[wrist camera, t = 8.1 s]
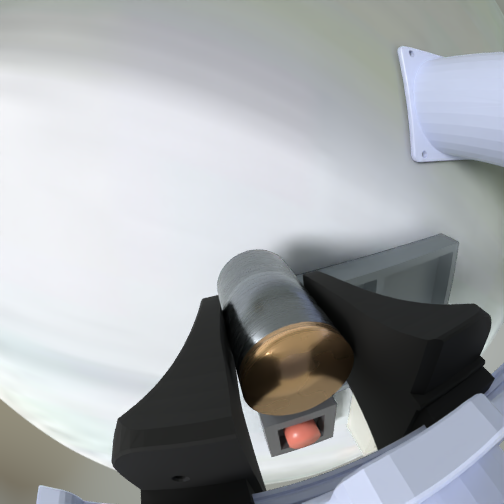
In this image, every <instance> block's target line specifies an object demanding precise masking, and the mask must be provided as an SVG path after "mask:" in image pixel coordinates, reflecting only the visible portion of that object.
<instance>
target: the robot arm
mask: <svg viewBox="0 0 504 504" xmlns="http://www.w3.org/2000/svg"><path fill="white" fill-rule="evenodd" d="M409 53H410V54H409ZM410 55H411V56H410ZM398 56H399V61H400V66H401V71H402V76H403V82H404V89H405V95H406V102H407V110H408V119H409V129H410V142H411V156H412V159H413V160H414V161H416V162H430V161H445V160H466V159H472V160H477V161H482V162H486V163H490V164H494V165H498V166H502V167H504V52H489V53H476V54H466V55H458V56H450V57H442V56H439V55H436V54H432V53H429V52H425V51H422V50H418V49H414V48H411V47H406V46H401V47H399V48H398ZM422 153H423V156H422ZM303 284H304V287H305V288H306V289H307V291H308V292H309V293H310V295H311V296H312V297H313V298H314V300H315V301H316V302H317V304H318V305H319V306H320V307H321V309H322V310H323V311H324V313H325V314H326V315H327V316H328V318H329V319H330V320H331V322H332V323H333V324H334V326H335V327H336V328H337V330H338V331H339V332H340V333H341V335H342V336H343V337H344V339H345V340H346V341H347V343H348V344H349V345H350V347H351V348H352V351H353V355H354V363H353V368H352V370H351V373H350V375H349V377H348V378H347V380H346V381H347V383H348V385H349V387H350V389H351V390H352V392H353V394H354V396H355V398H356V400H357V403H358V405H359V407H360V409H361V411H362V413H363V415H364V418H365V420H366V422H367V424H368V427H369V429H370V431H371V434H372V436H373V439H374V442H375V444H376V447H377V449H378V451H376V452H374V453H372V454H370V455H368V456H366V457H363V458H361V459H359V460H357V461H354V462H352V463H350V464H347V465H345V466H343V467H340V468H337V469H335V470H332V471H330V472H327V473H324V474H321V475H319V476H316V477H313V478H310V479H307V480H304V481H301V482H298V483H295V484H291V485H288V486H284V487H280V488H276V489H273V490H268V491H266V488H265V485H264V482H263V479H262V476H261V473H260V469H259V466H258V463H257V460H256V456H255V453H254V450H253V446H252V443H251V439H250V436H249V432H248V429H247V425H246V422H245V418H244V414H243V411H242V406H241V401H240V395H239V388H238V381H237V374H236V367H235V363H234V359H233V355H232V351H231V347H230V343H229V339H228V334H227V329H226V325H225V320H224V316H223V312H222V308H221V304H220V300H219V296H218V295H216V296H212V297H208V298H203V299H202V301H201V304H200V308H199V311H198V314H197V317H196V320H195V322H194V324H193V327H192V329H191V332H190V334H189V336H188V338H187V340H186V342H185V344H184V346H183V348H182V350H181V351H180V353H179V355H178V356H177V358H176V359H175V361H174V363H173V364H172V366H171V367H170V368H169V370H168V371H167V372H166V374H165V375H164V376H163V377H162V379H161V380H160V381H159V382H158V383H157V384H156V385H155V387H154V388H153V389H152V390H151V391H150V392H149V393H148V394H147V395H146V396H145V397H144V398H143V399H141V400H140V401H139V402H138V403H137V404H136V405H135V406H133V407H132V408H131V409H130V410H128V411H127V412H126V413H125V414H123V415H122V416H121V417H119V418H118V420H117V425H116V429H115V433H114V439H113V450H112V464H113V467H114V468H115V469H116V470H117V471H118V472H119V473H120V474H121V475H122V476H123V477H125V478H126V479H127V480H128V481H130V482H131V483H132V484H134V485H135V486H137V487H138V488H140V489H141V504H504V451H503V450H502V449H501V448H500V446H499V444H500V443H501V442H502V441H503V440H504V363H503V364H502V365H501V366H500V367H499V368H498V369H497V370H496V371H494V372H493V373H492V374H490V373H489V372H488V371H487V370H486V369H485V368H484V367H483V365H484V364H485V360H484V359H483V358H482V357H481V356H480V354H481V352H482V350H483V347H484V345H485V343H486V340H487V338H488V335H489V332H490V329H491V317H490V315H489V314H488V313H486V312H485V311H484V310H483V309H481V308H480V307H479V306H477V305H476V304H453V305H446V304H429V303H420V302H413V301H406V300H401V299H397V298H392V297H388V296H384V295H381V294H377V293H374V292H371V291H368V290H365V289H362V288H360V287H357V286H354V285H352V284H349V283H347V282H344V281H342V280H340V279H337V278H335V277H332V276H330V275H328V274H325V273H323V272H320V271H313V272H309V273H305V274H303ZM36 504H109V503H99V502H90V501H83V500H82V499H81V498H80V497H78V496H77V495H75V494H73V493H71V492H68V491H66V490H62V489H56V488H51V487H47V486H42V485H40V486H39V488H38V495H37V502H36Z"/></svg>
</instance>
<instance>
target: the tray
mask: <svg viewBox="0 0 504 504" xmlns="http://www.w3.org/2000/svg"><path fill="white" fill-rule="evenodd" d="M458 245H459V242H458V241H456V240H454V239H451V238H449V237H447V236H445V235H443V234H439V235H435V236H432V237H429V238H426V239H423V240H419V241H416V242H413V243H410V244H406V245H403V246H400V247H396V248H393V249H390V250H386V251H383V252H379V253H376V254H372V255H369V256H366V257H362V258H359V259H355V260H351V261H348V262H344V263H341V264H337V265H334V266H330V267H326V268H323V269H319V270H315V271H320V272H323V273H325V274H328V275H330V276H332V277H335V278H337V279H340V280H342V281H344V282H347V283H349V284H352V285H354V286H357V287H360V288H362V289H365V290H368V291H371V292H374V293H377V294H381V295H384V296H388V297H392V298H397V299H401V300H406V301H413V302H420V303H429V304H446V305H447V304H448V300H449V296H450V291H451V286H452V281H453V276H454V271H455V265H456V259H457V252H458ZM311 272H313V271H311ZM308 273H309V272H308ZM304 274H305V273H304ZM296 277H297V278H298V279H299V281H300V282H301V283H302V284H303V274H300V275H296ZM303 286H304V284H303ZM347 388H349V385H348V383H347V381H346V382H345V383H344V384H343V385H342V387H341V388H340V389H339V390H338V391H337V392H339V391H342V390H344V389H347ZM337 392H336V393H337Z"/></svg>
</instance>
